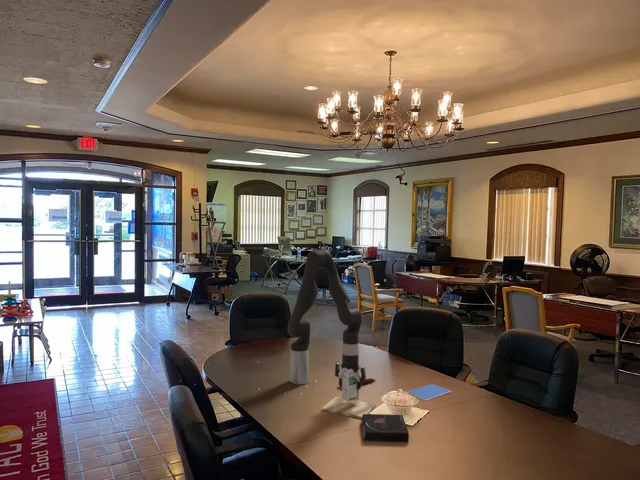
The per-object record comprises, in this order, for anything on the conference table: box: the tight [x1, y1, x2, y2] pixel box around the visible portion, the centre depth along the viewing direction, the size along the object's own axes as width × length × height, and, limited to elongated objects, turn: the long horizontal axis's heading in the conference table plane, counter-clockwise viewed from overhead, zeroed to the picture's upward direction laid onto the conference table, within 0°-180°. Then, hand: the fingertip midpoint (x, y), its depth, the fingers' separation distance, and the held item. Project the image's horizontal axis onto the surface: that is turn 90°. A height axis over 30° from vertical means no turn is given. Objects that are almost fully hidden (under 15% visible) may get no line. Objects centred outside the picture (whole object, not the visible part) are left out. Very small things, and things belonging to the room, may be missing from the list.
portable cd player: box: [361, 413, 410, 443], centre depth 184 cm, size 16×17×4 cm
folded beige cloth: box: [321, 396, 377, 420], centre depth 206 cm, size 20×15×1 cm
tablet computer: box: [407, 383, 452, 402], centre depth 226 cm, size 19×13×1 cm, turn 126°
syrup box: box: [341, 368, 360, 402], centre depth 210 cm, size 6×6×14 cm
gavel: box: [338, 377, 376, 388], centre depth 235 cm, size 21×5×10 cm
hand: (350, 387), depth 210 cm, fingers closed on syrup box, 8 cm apart
